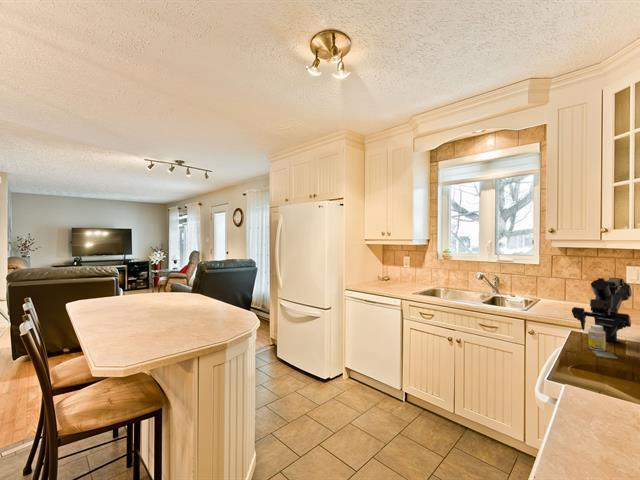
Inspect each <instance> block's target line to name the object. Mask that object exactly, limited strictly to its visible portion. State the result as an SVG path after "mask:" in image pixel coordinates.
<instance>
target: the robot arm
mask: <svg viewBox="0 0 640 480" xmlns="http://www.w3.org/2000/svg"><path fill="white" fill-rule="evenodd" d="M590 285H591V289H592V292H593V295H594V296H595V298H591V299H590V300H589V307H590V311H586V310H585V308H584V307H578V306H573V307H572V309H571V313H572V315H573V318H574V319H576V320H577V321H580V327H581V330H582V331H584V330H585V327H586V322H587V321H586V317H590V318H591V317H592V318H593V320H594V325H601V326H603V331H605V332H606V342H611V343H612V342H613V343H621V340H619V339H618V331H619V330H623V329H625V328H630V327H631V326H632V320H631V316H630V315H629V314H628V313H621V312H619V309H620V307H621V305H622V303H623V302H624V301H628V300H629V299H630V297H632V288H631V285H629V284H628V283H627V282H625V280H624V278H622V277H621V278H620V277H609V279H606V280H605V278H603V277H597V279H596V280H593V281H591V283H590Z"/></svg>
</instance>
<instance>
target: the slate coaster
mask: <svg viewBox="0 0 640 480" xmlns="http://www.w3.org/2000/svg"><path fill="white" fill-rule="evenodd" d="M591 351H592V353H593V354H594V355H595V356H597V357H598V358H606V359H615V360H618V359H619V358H618V357H617V356H616V355H614V354H613V353H612V352H611V351H597V350H593V349H591Z"/></svg>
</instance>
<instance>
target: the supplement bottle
mask: <svg viewBox="0 0 640 480" xmlns="http://www.w3.org/2000/svg"><path fill="white" fill-rule="evenodd" d="M587 330H588V331H587V333H588V334H587V336H588V348H590V349H591V350H593V351H602V352H606V350H607V341H606V332H605V331H603V326H601V325H595V323H593V324H592V323H591V324H590V328H589V329H587Z"/></svg>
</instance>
